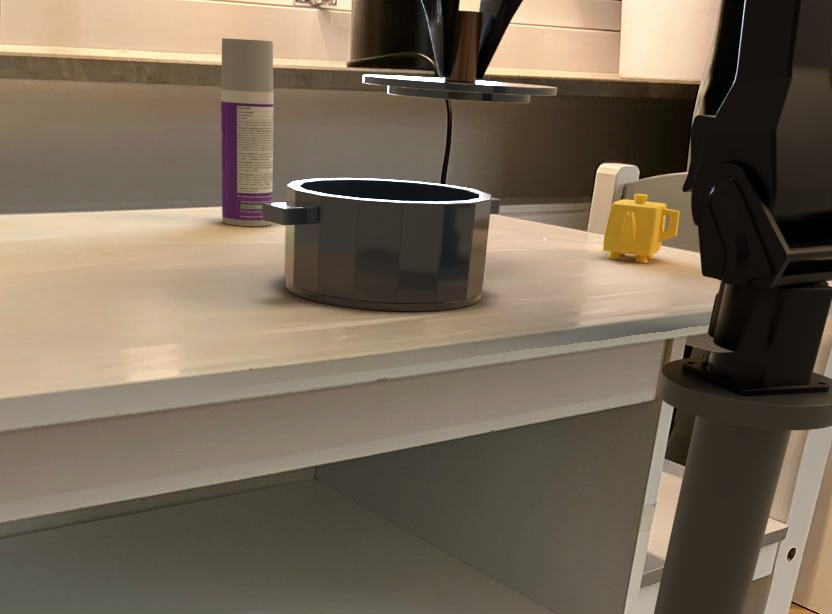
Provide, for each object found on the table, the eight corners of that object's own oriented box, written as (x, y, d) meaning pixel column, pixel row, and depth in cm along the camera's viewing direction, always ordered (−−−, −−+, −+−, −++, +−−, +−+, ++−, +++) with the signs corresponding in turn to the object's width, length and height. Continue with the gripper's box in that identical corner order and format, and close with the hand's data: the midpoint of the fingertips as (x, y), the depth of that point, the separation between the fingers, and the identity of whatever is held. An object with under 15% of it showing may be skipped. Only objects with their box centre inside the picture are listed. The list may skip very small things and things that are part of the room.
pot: (548, 297, 74) (561, 198, 71) (335, 323, 64) (340, 208, 60) (419, 265, 83) (426, 176, 80) (215, 283, 73) (214, 181, 69)
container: (217, 218, 100) (215, 38, 93) (265, 219, 102) (267, 41, 94) (227, 226, 96) (226, 38, 89) (277, 226, 98) (279, 41, 91)
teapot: (661, 269, 88) (673, 202, 85) (593, 260, 90) (603, 195, 87) (678, 257, 94) (690, 194, 91) (614, 249, 96) (624, 188, 93)
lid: (596, 106, 79) (609, 20, 76) (456, 102, 70) (465, 5, 68) (459, 93, 88) (467, 16, 86) (322, 88, 80) (326, 2, 77)
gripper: (549, -151, 81) (522, 79, 88) (317, -182, 75) (309, 67, 82) (628, -173, 72) (590, 86, 79) (371, -211, 66) (357, 73, 73)
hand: (460, 78), depth 79 cm, fingers closed on lid, 2 cm apart
